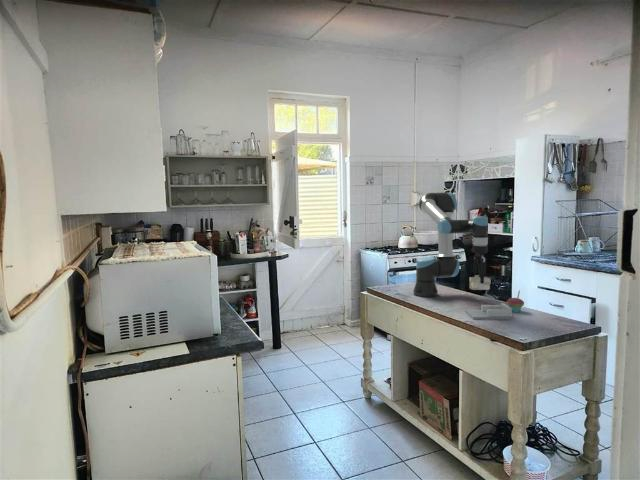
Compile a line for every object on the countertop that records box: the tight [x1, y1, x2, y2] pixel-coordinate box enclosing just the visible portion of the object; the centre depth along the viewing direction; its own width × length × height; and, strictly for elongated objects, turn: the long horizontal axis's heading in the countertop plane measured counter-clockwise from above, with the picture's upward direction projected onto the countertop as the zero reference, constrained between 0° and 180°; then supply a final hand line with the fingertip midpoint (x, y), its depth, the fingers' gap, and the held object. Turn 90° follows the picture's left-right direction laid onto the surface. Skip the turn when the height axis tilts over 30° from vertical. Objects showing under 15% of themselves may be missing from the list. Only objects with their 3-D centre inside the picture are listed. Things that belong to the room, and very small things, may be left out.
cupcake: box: [506, 289, 525, 313], centre depth 223 cm, size 9×8×12 cm
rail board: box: [464, 302, 515, 321], centre depth 216 cm, size 14×20×5 cm
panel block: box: [469, 276, 491, 291], centre depth 224 cm, size 5×9×6 cm, turn 90°
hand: (479, 288), depth 224 cm, fingers closed on panel block, 5 cm apart
